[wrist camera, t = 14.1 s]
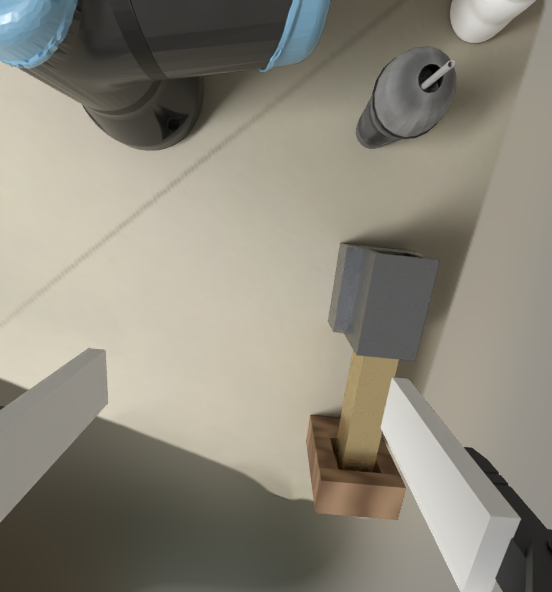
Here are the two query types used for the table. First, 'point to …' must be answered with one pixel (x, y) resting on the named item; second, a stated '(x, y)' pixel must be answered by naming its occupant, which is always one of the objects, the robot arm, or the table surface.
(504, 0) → the water bottle
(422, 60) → the beverage cup
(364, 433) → the rail
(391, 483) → the socket block
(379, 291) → the sleeve
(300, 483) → the table surface
